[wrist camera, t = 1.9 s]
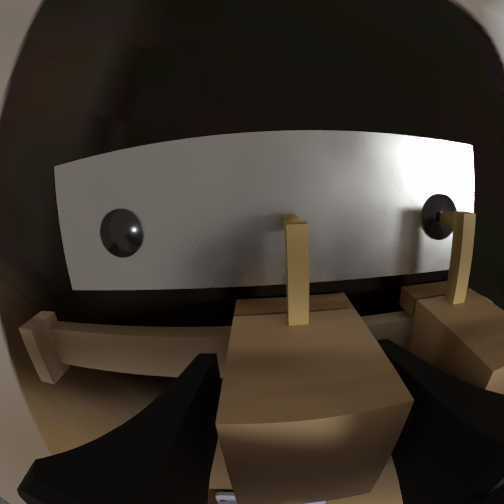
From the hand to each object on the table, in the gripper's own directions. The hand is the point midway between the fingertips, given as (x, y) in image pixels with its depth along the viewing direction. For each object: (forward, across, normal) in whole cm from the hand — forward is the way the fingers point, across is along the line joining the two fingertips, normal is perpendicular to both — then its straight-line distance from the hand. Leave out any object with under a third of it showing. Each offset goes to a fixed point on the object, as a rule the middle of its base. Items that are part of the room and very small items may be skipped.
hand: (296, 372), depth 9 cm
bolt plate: (+2, 0, -5) cm, 6 cm away
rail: (+2, +1, 0) cm, 2 cm away
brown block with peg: (+2, 0, -1) cm, 2 cm away
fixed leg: (+2, -6, -1) cm, 6 cm away
